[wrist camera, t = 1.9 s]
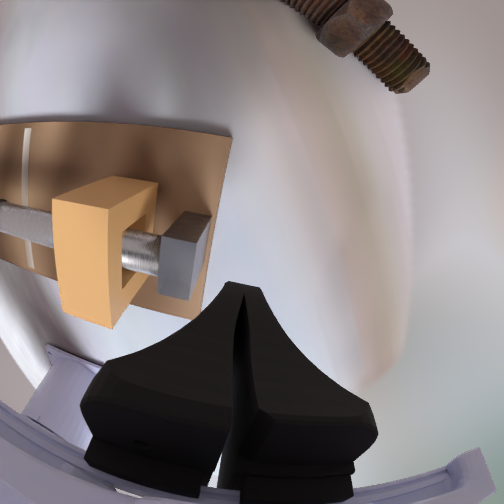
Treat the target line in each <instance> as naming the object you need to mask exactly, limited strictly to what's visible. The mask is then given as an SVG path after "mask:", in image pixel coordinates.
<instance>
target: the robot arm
mask: <svg viewBox="0 0 504 504" xmlns="http://www.w3.org/2000/svg"><path fill="white" fill-rule="evenodd" d="M45 348H46V351H47V354H48V357H49V360H50V362H51V365H52V367H51V368H50V370H49V371H48V373H47V374H46V376H45V377H44V379H43V380H42V382H41V383H40V385H39V386H38V388H37V389H36V391H35V392H34V394H33V396H32V397H31V399H30V400H29V402H28V404H27V405H26V407H25V408H24V410H23V412H22V413H21V414H19V413H17V412H16V411H14V410H13V409H12V408H10V407H9V406H7V405H6V404H5V403H3V402H2V401H0V504H479V503H480V502H482V501H483V500H485V499H486V498H488V497H489V496H491V495H492V494H493V493H495V492H496V488H495V485H494V482H493V480H492V477H491V474H490V472H489V469H488V467H487V464H486V462H485V459H484V457H483V455H482V452H481V450H480V448H479V447H477V448H474V449H472V450H470V451H467V452H465V453H463V454H461V455H459V456H458V457H456V458H455V459H453V460H452V461H451V462H449V463H448V464H447V465H446V466H444V467H441V468H438V469H435V470H432V471H429V472H426V473H423V474H419V475H416V476H412V477H408V478H404V479H400V480H396V481H393V482H387V483H383V484H378V485H372V486H367V487H360V488H354V489H353V486H352V481H351V475H352V474H353V473H354V472H355V467H354V462H353V461H355V460H356V459H357V458H358V457H359V456H361V454H363V453H364V452H365V451H366V450H367V449H369V448H370V447H371V445H372V444H373V443H374V442H375V441H376V439H377V436H378V430H377V426H376V423H375V419H374V415H373V413H372V410H371V407H370V405H369V403H368V402H366V401H364V400H363V399H361V398H359V397H358V396H356V395H354V394H353V393H351V392H349V391H348V390H346V389H344V388H343V387H341V386H340V385H339V384H337V383H336V382H335V381H333V380H332V379H331V378H329V377H328V376H327V375H325V374H324V373H323V372H322V371H321V370H319V369H318V368H317V367H316V366H315V365H314V364H313V363H312V362H311V361H310V360H309V359H308V358H307V357H306V356H305V355H304V354H303V353H302V352H301V351H300V350H299V349H298V348H297V347H296V345H295V344H294V343H293V342H292V341H291V339H290V338H289V337H288V336H287V334H286V333H285V331H284V330H283V328H282V327H281V325H280V324H279V322H278V321H277V319H276V317H275V316H274V314H273V312H272V310H271V309H270V307H269V305H268V303H267V301H266V299H265V297H264V295H263V292H262V290H261V289H260V287H255V286H250V285H245V284H240V283H235V282H231V281H228V282H226V283H225V285H224V287H223V288H222V290H221V291H220V292H219V294H218V295H217V296H216V297H215V299H214V300H213V301H212V302H211V303H210V304H209V305H208V306H207V307H206V308H205V309H204V310H203V311H202V312H201V313H200V314H199V315H198V316H197V317H195V318H194V319H193V320H192V321H191V322H189V323H188V324H187V325H185V326H184V327H183V328H181V329H180V330H178V331H177V332H175V333H173V334H172V335H170V336H169V337H167V338H165V339H163V340H162V341H160V342H158V343H156V344H153V345H151V346H149V347H147V348H145V349H142V350H140V351H138V352H135V353H132V354H129V355H125V356H122V357H119V358H115V359H112V360H108V361H106V363H105V364H104V365H103V366H99V365H96V364H94V363H91V362H88V361H86V360H83V359H81V358H79V357H76V356H74V355H71V354H69V353H67V352H65V351H62V350H60V349H58V348H56V347H53V346H51V345H49V344H47V345H46V346H45ZM221 453H222V456H221V463H220V470H219V476H218V483H217V488H213V487H207V486H208V483H209V481H210V478H211V476H212V473H213V471H215V468H216V466H217V463H218V461H219V458H220V455H221ZM114 487H115V488H118V489H120V490H123V491H126V492H129V493H132V494H135V495H138V496H142V497H143V498H136V497H132V496H129V495H125V494H122V493H119V492H117V491H116V489H115V488H114Z"/></svg>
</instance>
